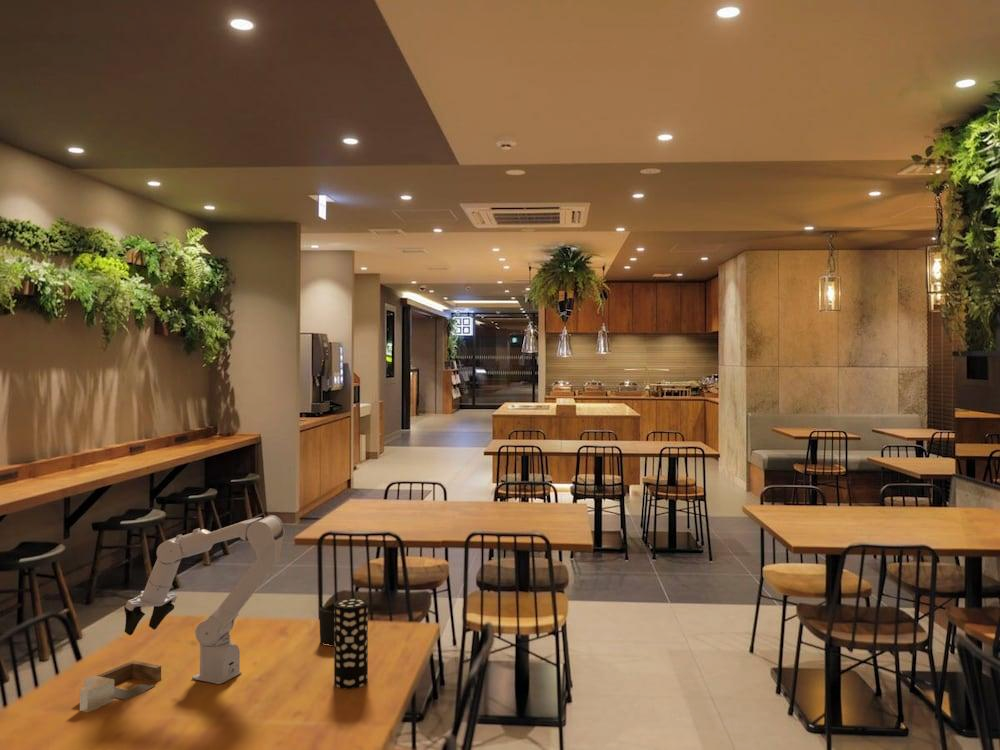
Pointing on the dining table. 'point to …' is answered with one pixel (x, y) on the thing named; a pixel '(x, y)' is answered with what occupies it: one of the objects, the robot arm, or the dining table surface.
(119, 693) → the L-shaped mat
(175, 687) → the dining table surface
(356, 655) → the white-spotted black cylinder
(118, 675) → the corner jig
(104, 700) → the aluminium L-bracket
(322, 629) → the pen holder
